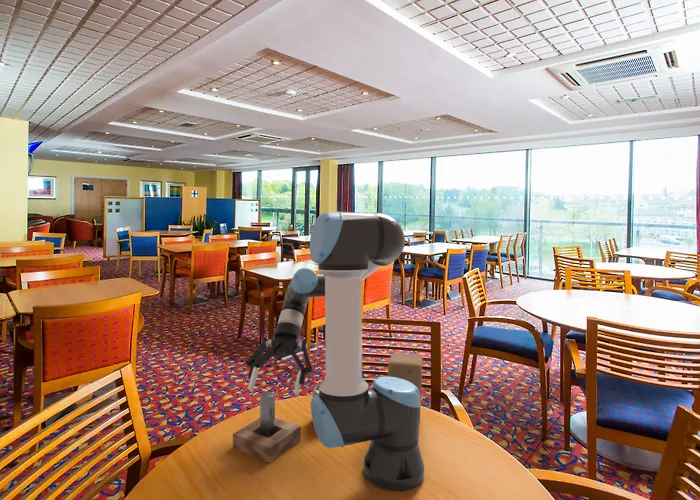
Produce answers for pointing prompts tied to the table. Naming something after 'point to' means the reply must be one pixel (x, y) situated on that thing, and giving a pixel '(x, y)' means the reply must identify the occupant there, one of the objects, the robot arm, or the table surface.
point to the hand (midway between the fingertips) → (272, 392)
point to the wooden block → (407, 369)
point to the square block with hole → (266, 440)
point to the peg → (267, 414)
